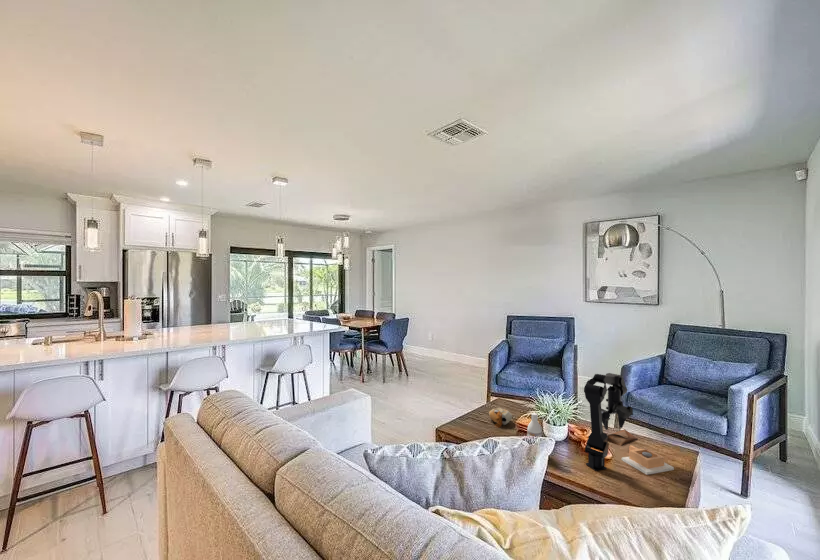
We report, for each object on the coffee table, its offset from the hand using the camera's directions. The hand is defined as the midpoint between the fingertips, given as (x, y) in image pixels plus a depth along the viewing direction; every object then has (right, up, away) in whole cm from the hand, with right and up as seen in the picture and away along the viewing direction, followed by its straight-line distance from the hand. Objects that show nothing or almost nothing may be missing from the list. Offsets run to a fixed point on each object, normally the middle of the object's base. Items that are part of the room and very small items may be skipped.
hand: (613, 428), depth 192 cm
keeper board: (+9, -12, -13) cm, 20 cm away
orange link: (+8, -11, -11) cm, 17 cm away
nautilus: (-51, -12, +37) cm, 64 cm away
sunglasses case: (+13, -13, +15) cm, 23 cm away
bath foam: (-41, -12, -1) cm, 43 cm away
